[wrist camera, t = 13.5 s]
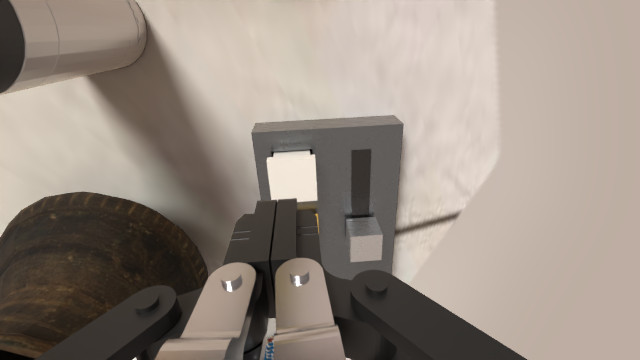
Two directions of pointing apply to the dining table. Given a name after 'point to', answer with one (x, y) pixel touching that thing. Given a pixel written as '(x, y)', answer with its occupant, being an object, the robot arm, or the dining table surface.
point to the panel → (342, 179)
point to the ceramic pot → (84, 266)
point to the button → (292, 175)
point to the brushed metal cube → (363, 239)
